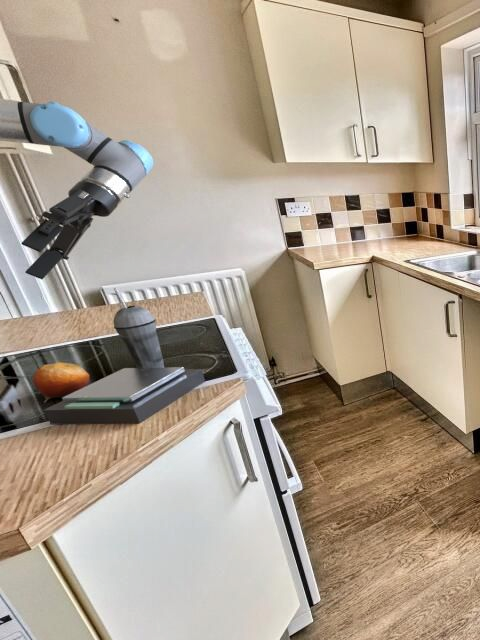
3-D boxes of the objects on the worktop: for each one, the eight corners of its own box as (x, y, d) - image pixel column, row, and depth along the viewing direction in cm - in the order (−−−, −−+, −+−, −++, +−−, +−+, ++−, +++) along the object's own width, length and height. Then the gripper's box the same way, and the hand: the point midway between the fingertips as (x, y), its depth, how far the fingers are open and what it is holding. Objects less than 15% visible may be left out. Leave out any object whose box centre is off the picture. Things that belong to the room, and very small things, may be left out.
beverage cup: (178, 366, 101) (150, 284, 93) (143, 378, 95) (109, 292, 87) (161, 361, 104) (132, 282, 96) (125, 373, 97) (92, 289, 90)
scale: (50, 424, 77) (41, 407, 76) (130, 382, 93) (124, 367, 92) (139, 423, 77) (132, 406, 75) (205, 381, 92) (200, 366, 91)
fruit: (29, 390, 87) (43, 354, 87) (81, 396, 93) (95, 363, 93) (21, 404, 82) (36, 366, 82) (78, 410, 87) (92, 374, 87)
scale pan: (63, 402, 78) (61, 397, 77) (125, 372, 90) (124, 368, 89) (132, 401, 77) (130, 396, 77) (185, 371, 89) (183, 367, 89)
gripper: (124, 174, 90) (56, 245, 79) (114, 228, 107) (56, 294, 96) (80, 149, 86) (1, 221, 75) (77, 210, 102) (12, 276, 91)
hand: (32, 262), depth 85 cm, fingers open, 13 cm apart
